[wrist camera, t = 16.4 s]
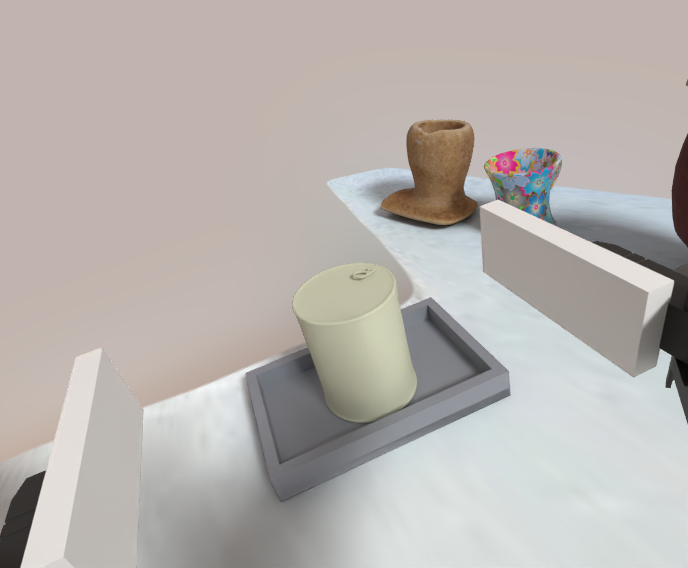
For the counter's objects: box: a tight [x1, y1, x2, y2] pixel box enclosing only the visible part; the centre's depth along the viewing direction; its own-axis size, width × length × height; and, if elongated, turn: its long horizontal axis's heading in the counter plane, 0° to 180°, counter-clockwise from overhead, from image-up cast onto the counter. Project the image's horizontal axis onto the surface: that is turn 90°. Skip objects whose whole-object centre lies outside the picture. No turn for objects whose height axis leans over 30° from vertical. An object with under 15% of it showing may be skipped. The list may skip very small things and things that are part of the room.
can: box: [292, 263, 417, 423], centre depth 41 cm, size 9×9×12 cm
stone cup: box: [381, 120, 478, 225], centre depth 72 cm, size 15×12×15 cm
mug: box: [484, 148, 562, 226], centre depth 62 cm, size 12×9×11 cm
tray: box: [246, 298, 510, 502], centre depth 44 cm, size 22×14×3 cm, turn 110°
